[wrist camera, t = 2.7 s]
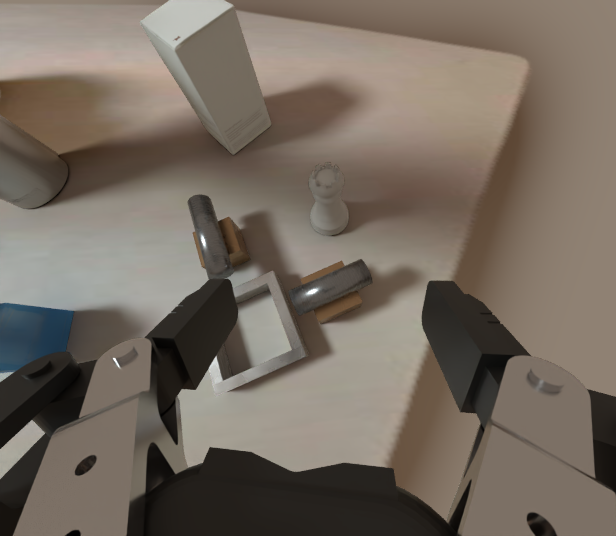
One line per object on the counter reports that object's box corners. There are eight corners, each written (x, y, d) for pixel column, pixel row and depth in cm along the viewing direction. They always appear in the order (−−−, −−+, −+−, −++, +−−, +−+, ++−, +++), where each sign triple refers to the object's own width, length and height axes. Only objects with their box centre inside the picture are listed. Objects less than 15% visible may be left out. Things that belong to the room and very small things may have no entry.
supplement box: (273, 125, 33) (236, 4, 21) (233, 157, 33) (171, 49, 21) (244, 101, 36) (195, -21, 24) (205, 130, 35) (135, 19, 23)
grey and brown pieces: (185, 235, 30) (153, 213, 25) (309, 181, 30) (302, 147, 25) (226, 391, 23) (194, 405, 18) (382, 322, 23) (394, 316, 18)
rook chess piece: (319, 243, 27) (311, 204, 19) (305, 212, 28) (292, 165, 21) (355, 227, 27) (361, 182, 19) (338, 197, 28) (338, 145, 21)
